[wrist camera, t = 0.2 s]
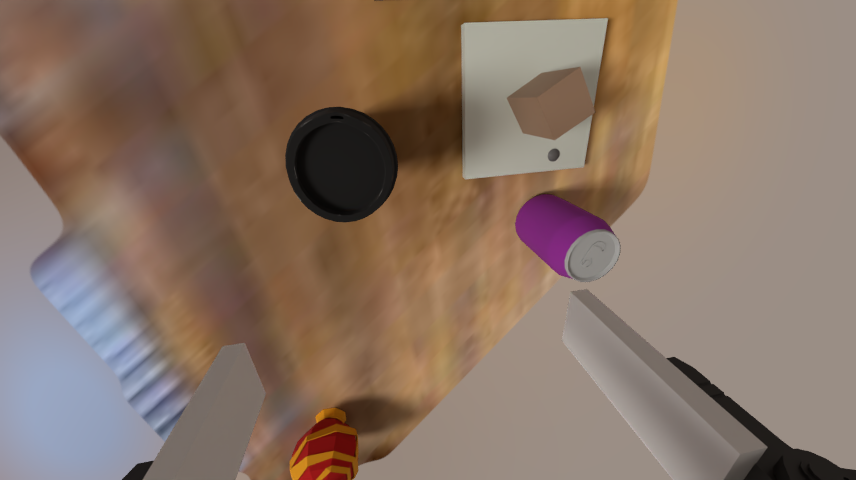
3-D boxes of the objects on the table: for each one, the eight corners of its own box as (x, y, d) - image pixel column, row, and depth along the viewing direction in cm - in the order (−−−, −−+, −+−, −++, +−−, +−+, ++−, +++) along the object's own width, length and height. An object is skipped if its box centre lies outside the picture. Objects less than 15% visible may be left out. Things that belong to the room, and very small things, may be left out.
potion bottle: (308, 393, 49) (284, 503, 36) (369, 401, 52) (369, 505, 39) (292, 435, 53) (265, 550, 39) (350, 440, 56) (344, 548, 42)
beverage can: (540, 250, 45) (593, 297, 35) (501, 229, 43) (546, 272, 32) (573, 207, 43) (640, 242, 32) (535, 181, 41) (594, 211, 30)
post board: (461, 25, 32) (488, 2, 24) (600, 20, 34) (664, -2, 26) (462, 177, 38) (484, 195, 31) (578, 165, 41) (624, 179, 33)
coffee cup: (389, 106, 34) (401, 110, 20) (389, 181, 37) (400, 227, 24) (309, 102, 32) (265, 104, 19) (318, 181, 36) (286, 230, 22)
